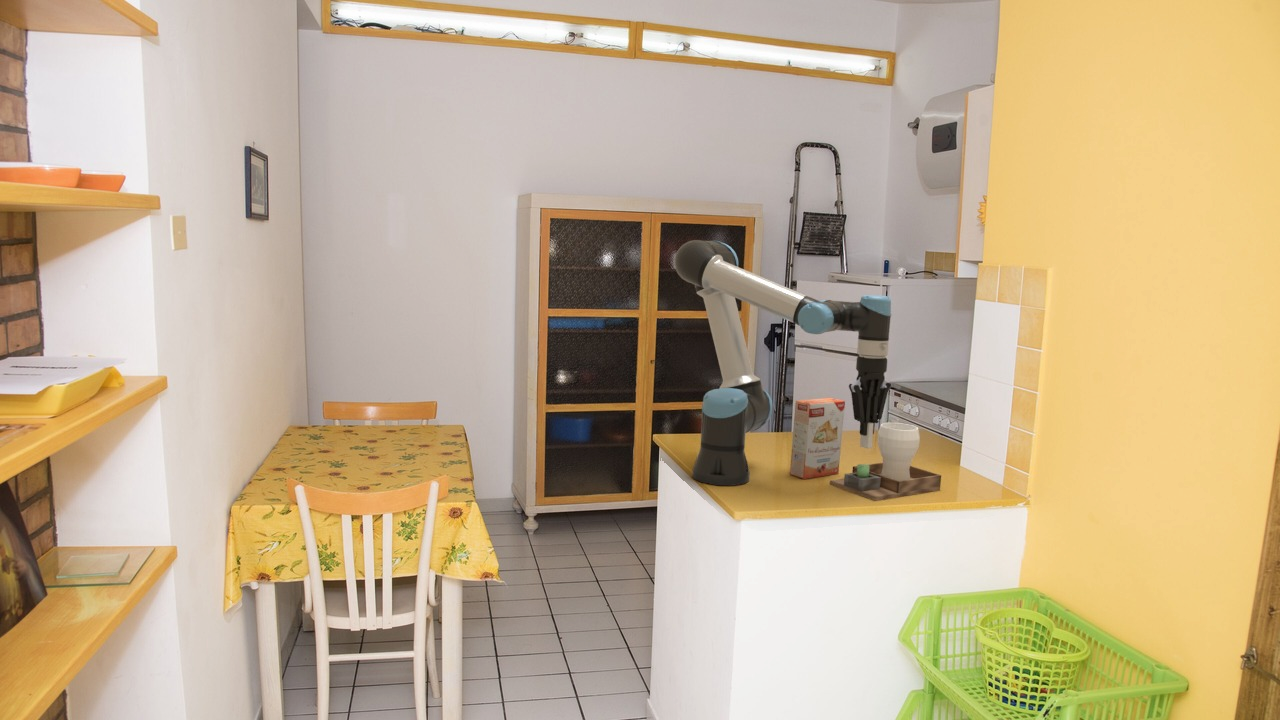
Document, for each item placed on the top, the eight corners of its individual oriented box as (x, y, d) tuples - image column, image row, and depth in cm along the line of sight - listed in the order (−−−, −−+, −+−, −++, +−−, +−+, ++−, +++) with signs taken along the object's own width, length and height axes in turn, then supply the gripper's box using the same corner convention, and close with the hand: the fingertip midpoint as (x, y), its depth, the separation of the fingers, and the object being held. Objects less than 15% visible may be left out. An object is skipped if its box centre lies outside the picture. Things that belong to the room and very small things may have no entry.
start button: (862, 480, 217) (863, 467, 217) (854, 477, 220) (855, 464, 219) (870, 479, 219) (871, 466, 218) (862, 476, 221) (863, 463, 221)
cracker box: (805, 480, 227) (810, 403, 224) (788, 475, 232) (793, 399, 229) (840, 474, 235) (846, 400, 232) (824, 469, 240) (829, 396, 237)
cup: (909, 489, 219) (913, 432, 216) (868, 482, 224) (873, 426, 222) (920, 481, 227) (925, 426, 225) (881, 473, 233) (886, 420, 231)
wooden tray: (874, 500, 211) (876, 485, 210) (829, 484, 224) (830, 469, 224) (939, 490, 223) (941, 475, 223) (893, 474, 237) (894, 460, 236)
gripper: (864, 359, 208) (858, 452, 211) (901, 357, 215) (894, 448, 218) (842, 355, 215) (836, 446, 218) (879, 353, 221) (873, 442, 224)
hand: (865, 447), depth 218 cm, fingers closed
